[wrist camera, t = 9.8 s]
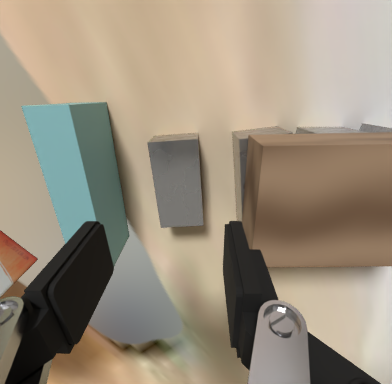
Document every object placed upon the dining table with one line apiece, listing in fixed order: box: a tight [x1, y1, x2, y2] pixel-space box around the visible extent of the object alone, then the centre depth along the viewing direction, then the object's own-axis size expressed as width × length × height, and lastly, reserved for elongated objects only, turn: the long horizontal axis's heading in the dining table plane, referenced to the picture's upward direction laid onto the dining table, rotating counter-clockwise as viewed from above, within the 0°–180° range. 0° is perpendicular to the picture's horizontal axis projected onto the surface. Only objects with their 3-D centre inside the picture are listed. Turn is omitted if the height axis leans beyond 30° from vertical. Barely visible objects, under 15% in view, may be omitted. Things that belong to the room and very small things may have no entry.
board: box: [242, 132, 392, 267], centre depth 16 cm, size 9×15×4 cm, turn 91°
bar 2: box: [232, 126, 293, 221], centre depth 20 cm, size 9×4×4 cm, turn 7°
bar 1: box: [148, 133, 203, 228], centre depth 20 cm, size 8×4×3 cm, turn 4°
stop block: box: [22, 102, 129, 265], centre depth 19 cm, size 14×3×6 cm, turn 1°
